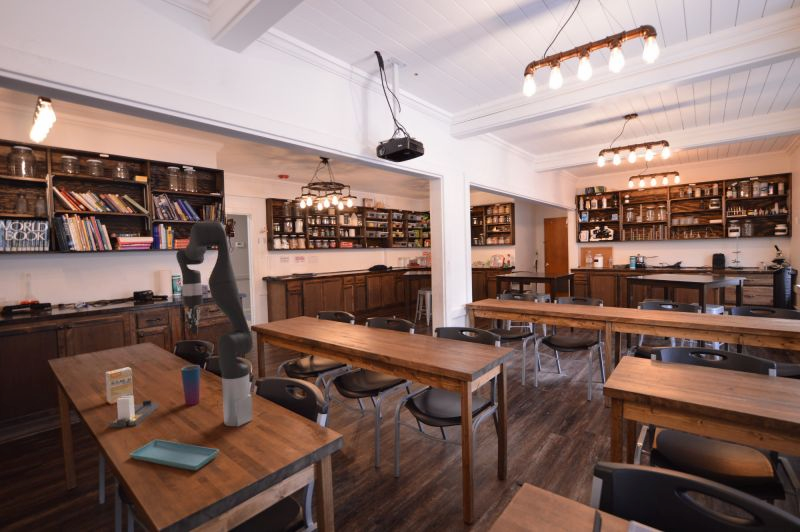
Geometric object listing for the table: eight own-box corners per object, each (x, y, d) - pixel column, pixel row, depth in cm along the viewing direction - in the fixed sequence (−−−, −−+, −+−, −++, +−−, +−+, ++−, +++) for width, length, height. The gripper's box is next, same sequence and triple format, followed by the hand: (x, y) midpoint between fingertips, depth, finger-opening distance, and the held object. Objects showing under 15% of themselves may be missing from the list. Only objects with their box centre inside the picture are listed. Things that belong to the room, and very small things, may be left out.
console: (136, 407, 153) (135, 400, 153) (160, 405, 154) (159, 399, 154) (108, 428, 135) (107, 421, 135) (135, 426, 136) (134, 419, 136)
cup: (193, 407, 152) (191, 370, 151) (179, 406, 153) (177, 370, 152) (205, 400, 159) (203, 365, 158) (191, 399, 160) (189, 364, 159)
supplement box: (110, 404, 156) (108, 373, 156) (106, 402, 159) (104, 371, 158) (133, 398, 163) (131, 368, 162) (129, 395, 166) (127, 366, 165)
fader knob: (123, 417, 140) (121, 396, 140) (134, 416, 141) (133, 395, 140) (118, 421, 137) (116, 399, 137) (130, 420, 138) (128, 398, 137)
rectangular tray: (128, 460, 115) (128, 452, 115) (156, 445, 124) (155, 437, 124) (196, 474, 107) (195, 466, 107) (220, 457, 116) (219, 449, 116)
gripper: (187, 294, 170) (189, 332, 169) (178, 295, 157) (180, 337, 157) (205, 293, 171) (208, 331, 171) (197, 294, 159) (200, 335, 158)
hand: (194, 334), depth 164 cm, fingers closed
